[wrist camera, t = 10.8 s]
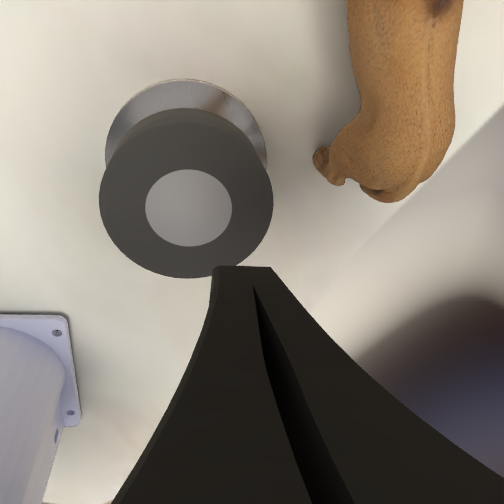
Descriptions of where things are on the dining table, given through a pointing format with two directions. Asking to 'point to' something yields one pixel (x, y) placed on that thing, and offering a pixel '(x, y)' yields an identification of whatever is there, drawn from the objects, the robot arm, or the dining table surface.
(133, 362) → the dining table surface
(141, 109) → the axle mount
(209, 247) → the wheel
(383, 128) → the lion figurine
